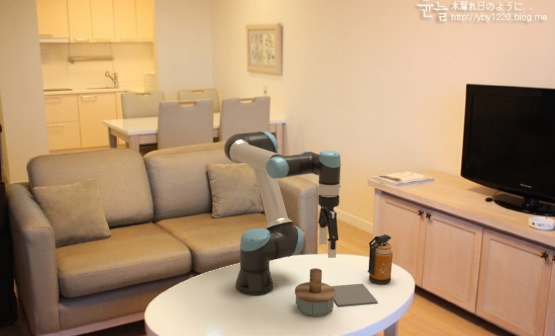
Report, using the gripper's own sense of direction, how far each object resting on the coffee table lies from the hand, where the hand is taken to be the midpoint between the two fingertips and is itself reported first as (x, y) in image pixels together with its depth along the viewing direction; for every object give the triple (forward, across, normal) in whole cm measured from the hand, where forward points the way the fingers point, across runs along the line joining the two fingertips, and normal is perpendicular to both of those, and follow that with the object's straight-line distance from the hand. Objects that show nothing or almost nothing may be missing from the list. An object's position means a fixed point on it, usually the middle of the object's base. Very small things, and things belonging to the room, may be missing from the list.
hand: (327, 250), depth 205 cm
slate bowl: (+23, +2, +4) cm, 23 cm away
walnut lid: (+17, +1, +4) cm, 18 cm away
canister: (+23, +22, -28) cm, 42 cm away
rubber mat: (+23, +10, -12) cm, 28 cm away
